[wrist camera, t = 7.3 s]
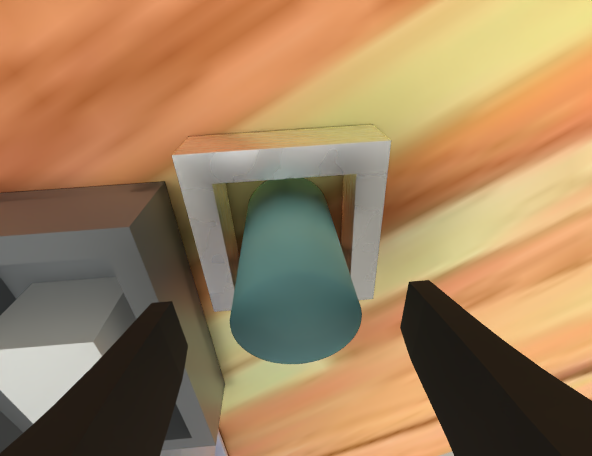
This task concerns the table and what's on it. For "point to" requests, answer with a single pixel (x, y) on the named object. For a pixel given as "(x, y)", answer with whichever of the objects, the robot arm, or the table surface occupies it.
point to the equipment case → (95, 299)
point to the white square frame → (283, 165)
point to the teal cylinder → (292, 277)
